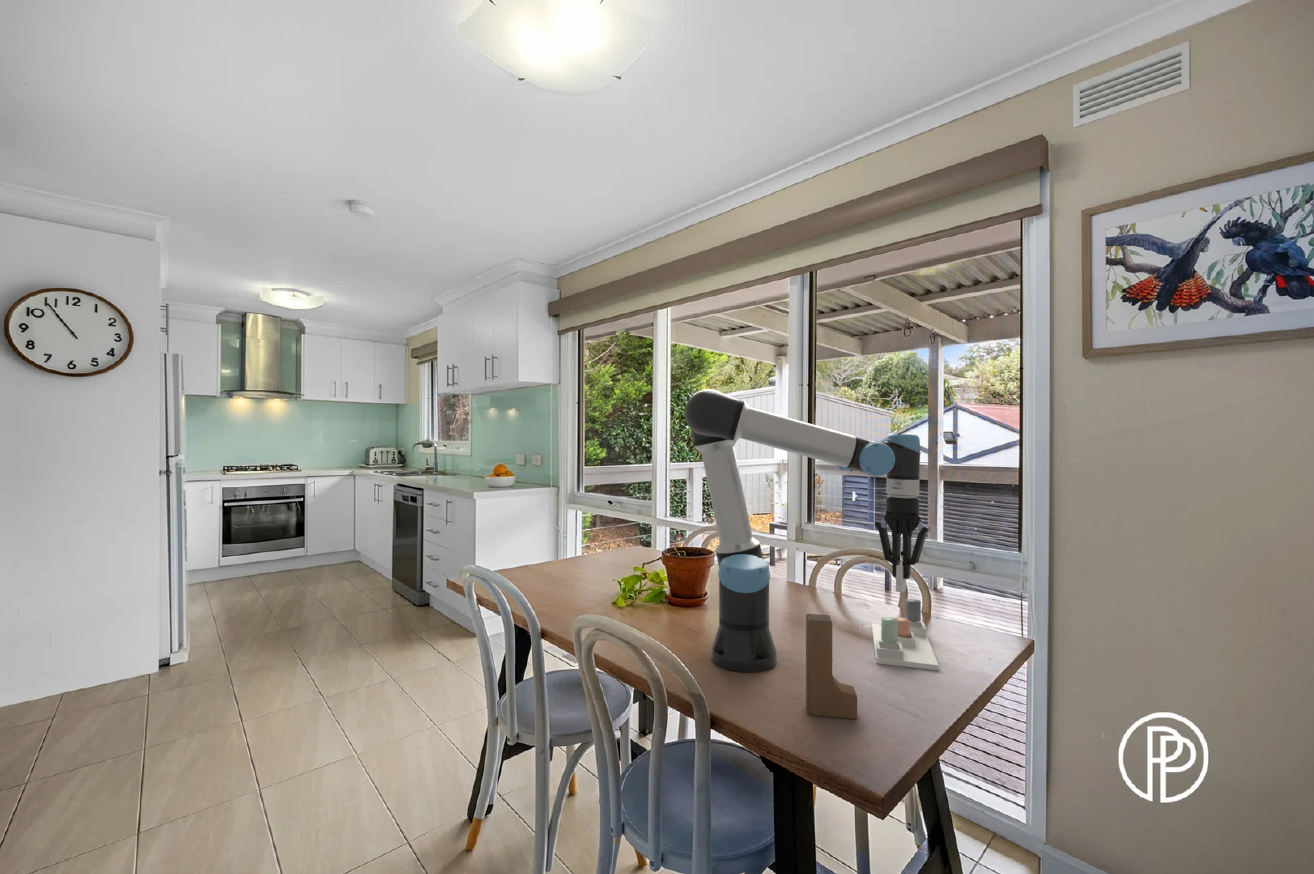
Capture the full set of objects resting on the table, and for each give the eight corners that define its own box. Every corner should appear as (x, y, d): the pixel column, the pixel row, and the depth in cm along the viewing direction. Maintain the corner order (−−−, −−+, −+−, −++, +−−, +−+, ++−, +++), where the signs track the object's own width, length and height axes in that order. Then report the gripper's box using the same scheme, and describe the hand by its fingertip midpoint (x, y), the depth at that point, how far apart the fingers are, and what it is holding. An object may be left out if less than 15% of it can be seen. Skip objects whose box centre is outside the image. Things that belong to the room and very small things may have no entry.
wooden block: (853, 708, 110) (854, 615, 110) (857, 720, 106) (857, 623, 106) (805, 704, 112) (805, 613, 112) (807, 715, 107) (807, 620, 107)
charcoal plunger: (906, 621, 148) (906, 601, 148) (904, 616, 152) (905, 598, 152) (921, 622, 147) (921, 603, 147) (919, 618, 150) (919, 599, 150)
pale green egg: (881, 642, 133) (881, 620, 133) (880, 636, 137) (880, 616, 137) (898, 643, 132) (898, 622, 132) (897, 638, 136) (897, 617, 135)
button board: (876, 663, 132) (876, 649, 132) (871, 627, 156) (871, 616, 156) (938, 670, 128) (938, 656, 128) (923, 633, 152) (923, 621, 152)
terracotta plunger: (894, 641, 141) (894, 621, 141) (893, 636, 144) (893, 616, 144) (910, 643, 140) (910, 622, 140) (908, 638, 143) (909, 618, 143)
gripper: (870, 494, 143) (868, 588, 143) (925, 499, 134) (923, 599, 135) (881, 492, 149) (880, 583, 149) (935, 497, 140) (933, 593, 140)
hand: (900, 590), depth 142 cm, fingers closed
